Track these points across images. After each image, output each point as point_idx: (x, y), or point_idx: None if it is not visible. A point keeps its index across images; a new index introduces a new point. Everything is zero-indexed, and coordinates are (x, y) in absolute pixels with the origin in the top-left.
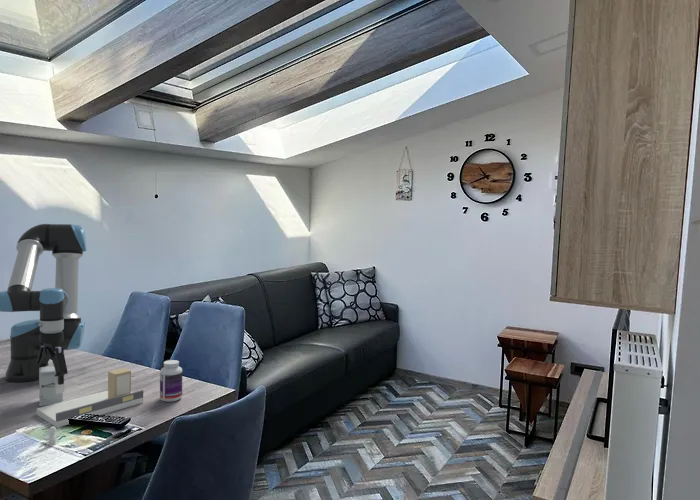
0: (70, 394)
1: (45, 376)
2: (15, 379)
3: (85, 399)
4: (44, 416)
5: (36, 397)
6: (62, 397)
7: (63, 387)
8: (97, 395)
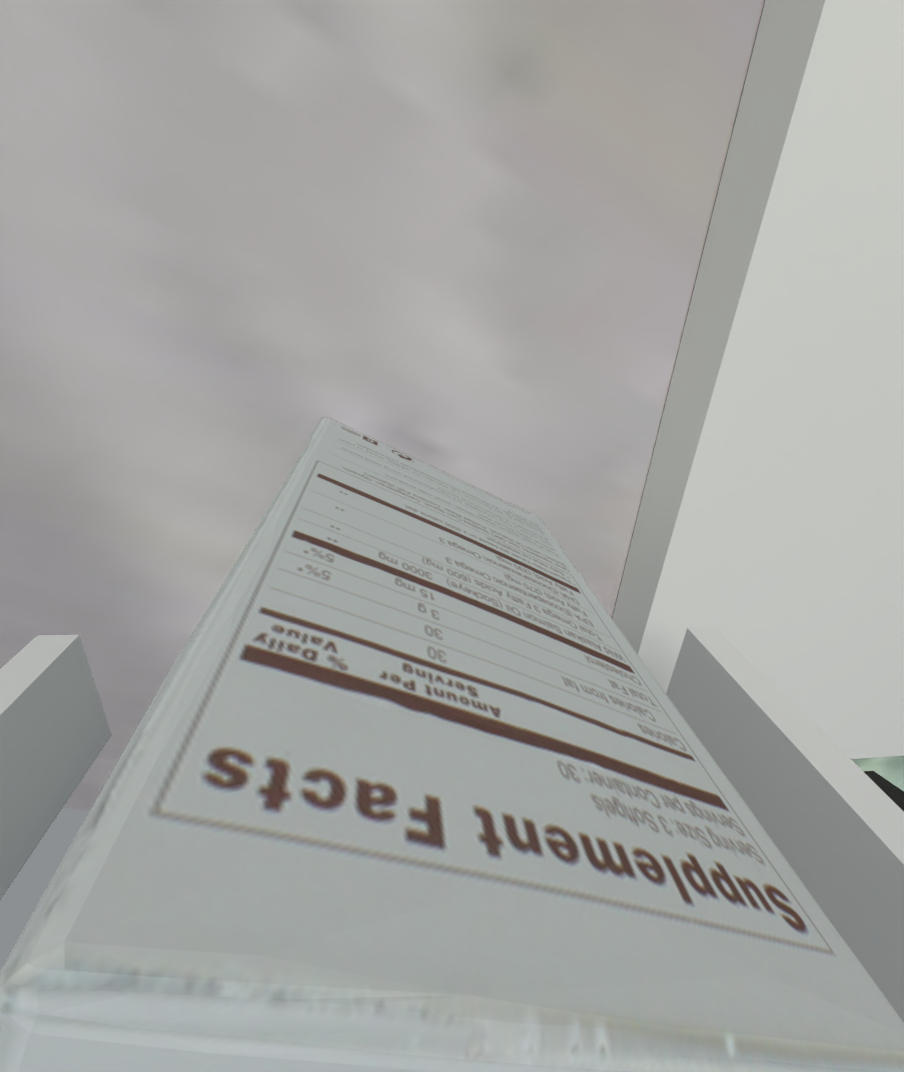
0: (266, 276)
1: None
2: None
3: (844, 361)
4: None
5: (112, 613)
6: (550, 540)
7: (765, 689)
8: (902, 116)
